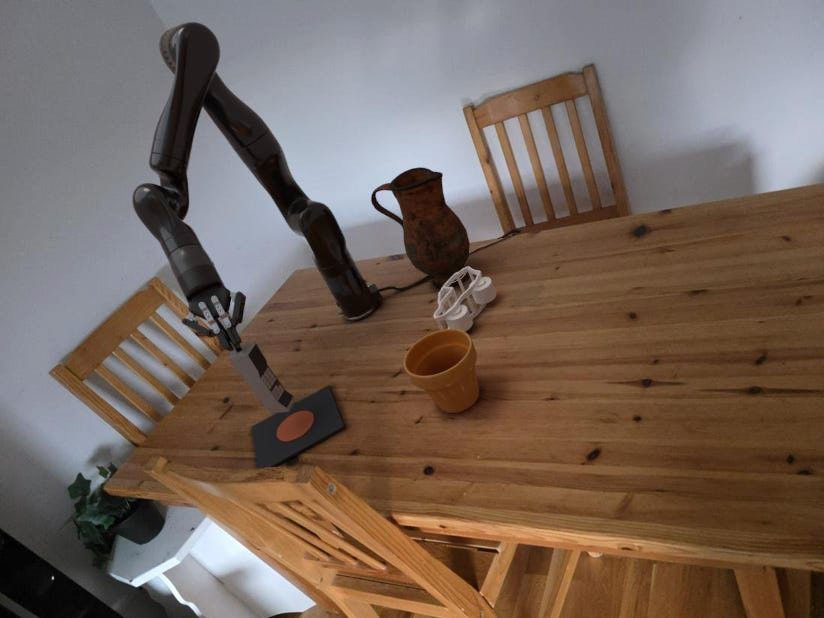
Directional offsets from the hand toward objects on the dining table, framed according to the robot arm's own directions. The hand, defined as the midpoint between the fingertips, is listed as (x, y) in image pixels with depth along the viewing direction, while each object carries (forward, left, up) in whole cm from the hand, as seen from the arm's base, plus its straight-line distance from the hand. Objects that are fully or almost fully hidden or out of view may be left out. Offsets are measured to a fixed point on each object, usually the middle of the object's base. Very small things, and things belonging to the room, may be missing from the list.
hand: (234, 348), depth 117 cm
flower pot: (-34, +16, -26) cm, 46 cm away
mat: (0, -2, -25) cm, 26 cm away
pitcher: (-49, -31, -26) cm, 63 cm away
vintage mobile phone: (0, -2, -19) cm, 19 cm away
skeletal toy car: (-47, -10, -26) cm, 54 cm away
